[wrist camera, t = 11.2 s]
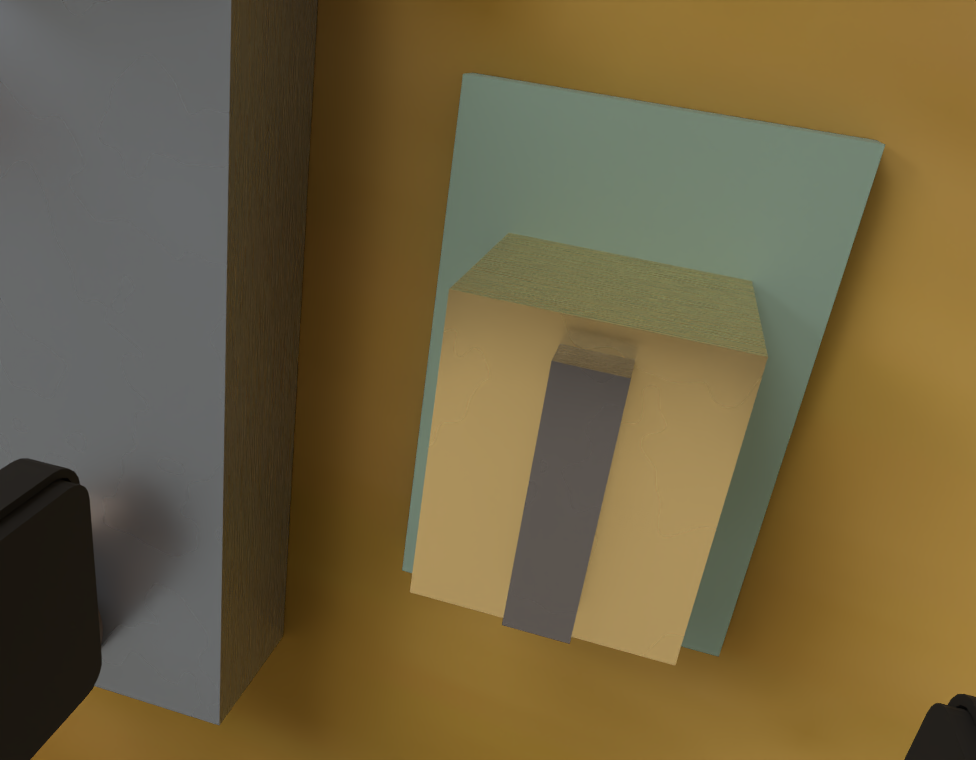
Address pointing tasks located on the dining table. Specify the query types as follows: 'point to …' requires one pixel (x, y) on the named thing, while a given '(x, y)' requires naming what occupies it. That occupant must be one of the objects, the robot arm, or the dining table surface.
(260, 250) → the hand plane
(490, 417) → the lever cap
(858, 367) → the dining table surface
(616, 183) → the rubber mat
